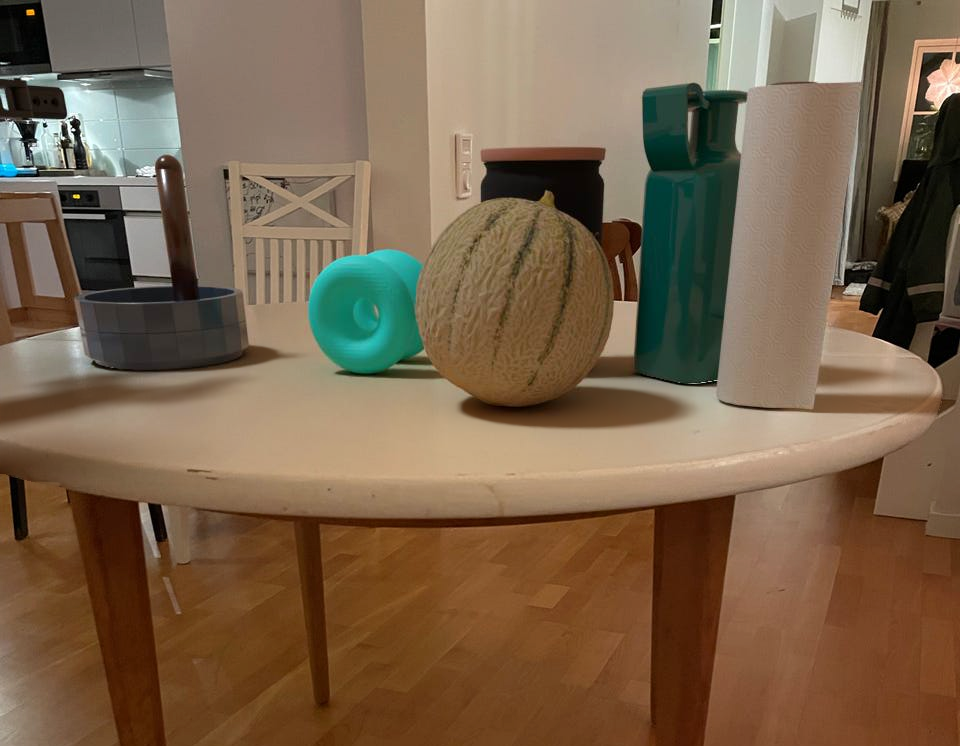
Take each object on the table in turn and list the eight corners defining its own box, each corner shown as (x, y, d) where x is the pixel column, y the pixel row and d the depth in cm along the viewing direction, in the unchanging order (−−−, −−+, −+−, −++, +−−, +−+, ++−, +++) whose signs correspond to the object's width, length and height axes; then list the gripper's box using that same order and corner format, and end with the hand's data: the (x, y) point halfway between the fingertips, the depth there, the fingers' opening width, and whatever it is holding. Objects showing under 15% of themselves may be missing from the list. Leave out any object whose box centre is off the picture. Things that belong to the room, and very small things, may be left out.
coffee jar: (512, 381, 79) (513, 146, 71) (463, 362, 88) (460, 150, 80) (617, 371, 83) (630, 146, 75) (561, 353, 92) (567, 150, 84)
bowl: (58, 371, 86) (44, 303, 83) (125, 344, 100) (115, 285, 97) (222, 372, 85) (213, 303, 82) (267, 344, 99) (260, 285, 96)
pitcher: (691, 362, 87) (716, 93, 77) (760, 376, 81) (796, 85, 71) (611, 373, 82) (627, 89, 73) (677, 389, 76) (704, 80, 66)
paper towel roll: (706, 393, 75) (736, 87, 65) (779, 392, 75) (820, 87, 65) (733, 413, 68) (771, 77, 59) (813, 412, 68) (864, 77, 59)
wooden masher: (153, 354, 89) (121, 154, 81) (175, 344, 94) (146, 155, 87) (214, 354, 89) (187, 153, 81) (232, 344, 94) (209, 155, 86)
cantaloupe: (379, 407, 71) (367, 192, 64) (500, 378, 81) (501, 189, 74) (529, 437, 62) (534, 192, 56) (645, 401, 72) (660, 189, 65)
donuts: (307, 374, 84) (297, 255, 79) (352, 355, 92) (344, 248, 88) (410, 379, 81) (405, 257, 77) (446, 359, 90) (443, 248, 85)
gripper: (-149, 20, 58) (76, 45, 70) (-251, 36, 65) (-30, 56, 77) (-114, 155, 61) (95, 156, 73) (-214, 156, 68) (-8, 157, 80)
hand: (30, 105), depth 75 cm, fingers open, 8 cm apart
